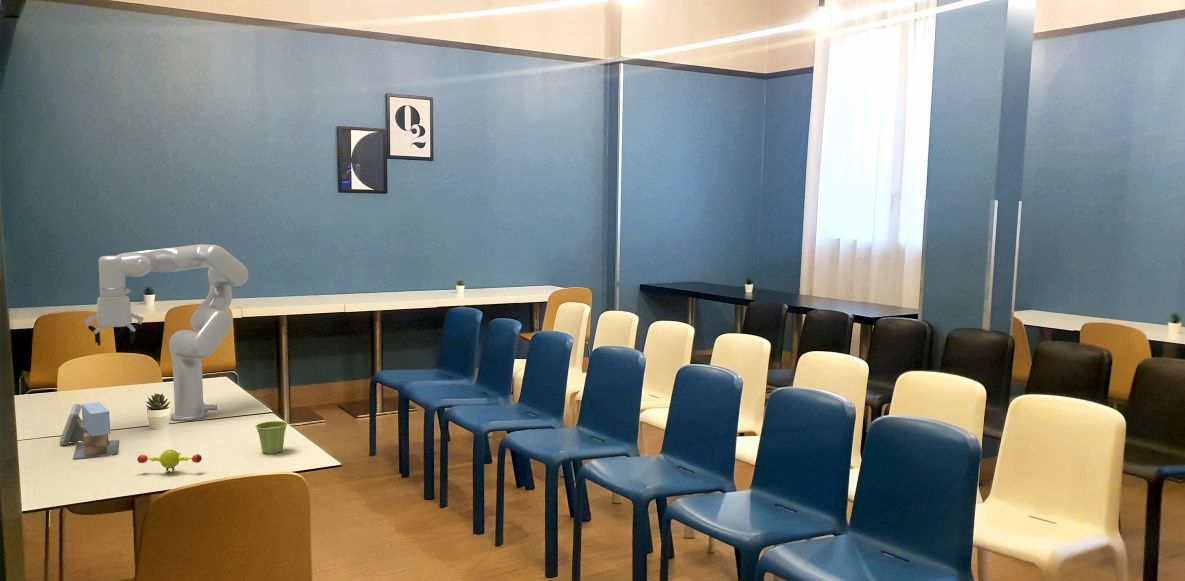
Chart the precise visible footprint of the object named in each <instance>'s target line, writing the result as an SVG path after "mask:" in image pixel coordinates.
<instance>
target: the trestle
mask: <svg viewBox="0 0 1185 581" xmlns="http://www.w3.org/2000/svg"><path fill="white" fill-rule="evenodd" d="M85 431H86V433H84V442H80V443H76V446H75V450H74V452H73V456H72V460H73V459H76V460H85V459H92V458H93V457H94V458H101V456H103V457H108V456H107V455H112V456H118V455H119V449H118V448H120V447H119V446H120V439H112V440H109V434H106V435H99V436H91V435H90V434H89V432H88V431H87V430H86V429H85ZM117 454H118V455H117Z"/></svg>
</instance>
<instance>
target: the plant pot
mask: <svg viewBox="0 0 1185 581" xmlns="http://www.w3.org/2000/svg"><path fill="white" fill-rule="evenodd" d="M287 426H288V422H287V421H282V420H273V421H272V420H271V421H264V422H260V423H257V424H256V425H255V428H256V430H257V432H258V436H259V442H260V446H261V452H262V454H266V455H272V454H273V455H275V454H278V453H281V451H282V452H283V450H284V443H285V442H284V441H285V434H286V429H287ZM274 453H275V454H274Z"/></svg>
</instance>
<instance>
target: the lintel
mask: <svg viewBox="0 0 1185 581" xmlns="http://www.w3.org/2000/svg"><path fill="white" fill-rule="evenodd" d="M81 415H82V418H81V420H82V421H83V427H84V428H85V429H86V430H87V431H88V432H89V434H90V435H91V436H99V435H106V434H108V435H111V419H110V411H109V409H108V408H106V407H105V406H104V405H103V404H102V403H101V402H90V403H83V404H81Z"/></svg>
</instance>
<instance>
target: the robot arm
mask: <svg viewBox="0 0 1185 581" xmlns="http://www.w3.org/2000/svg"><path fill="white" fill-rule="evenodd" d="M202 268H204V269H205V268H208V271H207V278H208V282H209V290H208V291H209V292H208V294H207V295H206V297H205V298H204V300H203V301H202V303H201V304H200V305H199V306H198V307H197V309H196V310H195V311H194V312H193V314H192V316H191V317H190V319H189V320H190V322H189V323H190V326H191V328H192V330H190V329H189V330H188V329H181V330H177V331H175V332H174V333H173V334H172V335H171V337H170V338H169V340H168V342H169V343H168V347H169V353H170V356H171V362H172V378H173V380H172V381H173V400H174V401H173V402H174V412H172V413H171V414H170V415H171V418H170V419H171V420H172V421H173V420H174V421H182V422H183V421H184V422H185V421H193V420H194V421H195V420H201V419H204V418H206V417H208V416H209V411H218V404H205V401H204V390H203V389H204V387H203V386H204V385H203V366H202V365H203V364H202V361H201V360H203V359H208V358H209V357H211V355H213V354H214V353H215V351H216V350H217V349H218V348H219V346H220V345H221V344H222V342H223V341H224V340H225V338H226V337H227V336H228V334H229V333H230V331H231V329H232V328H233V327H232V326H233V316H232V314H231V313H230V311H229V310H228V309H229V307H230V306H231V304H232V302H233V301H232V300H233V293H232V287H240V286H242V285H244V284H245V283H246V282H247V281H248V278H249V271H248V269H247V267H246V266H245V265H244V263H243V262H241V261H239V259H238V258H236V257H235V256H234V255H233V254H231V253H230V252H229V251H227V250H226V249H225V248H223V247H222V246H219V245H218V244H205V243H201V244H191V245H190V244H189V245H184V246H183V245H182V246H175V247H166V248H165V247H164V248H159V249H150V250H140V251H131V252H123V253H119V254H117V255H104V256H103V255H102V256H100V257H99V259H98V275H99V276H98V279H99V294H100V295H99V296H98V297H97V302H96V314H95V315H93V316H91V317H89V318H87V319H85V320H84V324H85V325H86V326H87V328H88V330H90V331H91V332H92V333H93V334H94V342H95V344H97V346H101V333H100V331H101V330H102V328H103V329H104V328H106V329H107V328H122V327H123V328H124V327H126V328H129V330H130V331H129V337H130V338H129V340H130V344H131V345H133V343H134V341H136V331H137V330H138V329H139V328H140V327H141V325H142V323H143V321H144V317H143V316H140V315H137V314H136V313H133V312H132V308H131V307H132V306H131V302H130V297H129V296H128V295H127V294H131V293H132V292H131V291H132V290H131V288H128V287H126V277H135V278H136V277H137V278H138V277H139V278H140V277H144V276H146V275H147V274H149V273H151V272H153V273H154V272H158V273H174V272H182V271H187V270H196V269H202ZM133 319H135V320H137V322H136V324H132V320H133ZM95 320H96V324H97V326H96V327H94V326H93V325H92V322H94V321H95Z"/></svg>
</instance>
